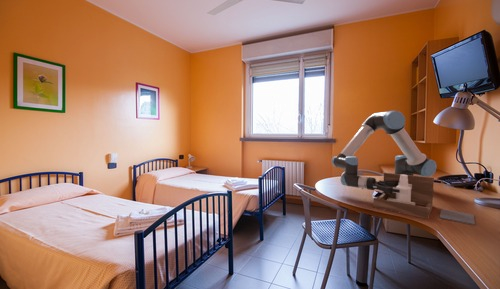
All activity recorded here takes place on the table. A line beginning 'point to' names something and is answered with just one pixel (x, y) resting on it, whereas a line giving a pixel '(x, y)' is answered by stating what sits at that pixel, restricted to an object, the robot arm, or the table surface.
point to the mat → (457, 216)
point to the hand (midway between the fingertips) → (409, 189)
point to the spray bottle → (404, 185)
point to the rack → (419, 195)
